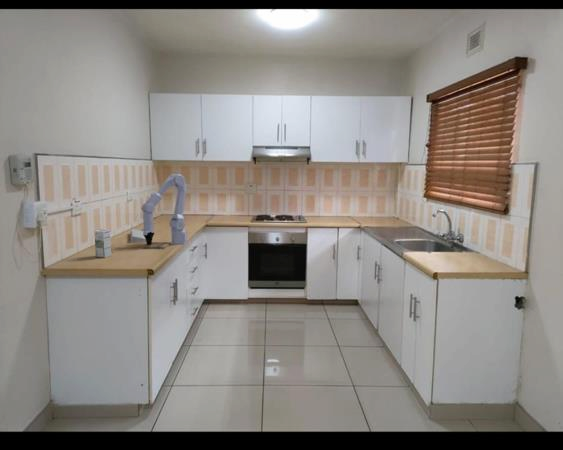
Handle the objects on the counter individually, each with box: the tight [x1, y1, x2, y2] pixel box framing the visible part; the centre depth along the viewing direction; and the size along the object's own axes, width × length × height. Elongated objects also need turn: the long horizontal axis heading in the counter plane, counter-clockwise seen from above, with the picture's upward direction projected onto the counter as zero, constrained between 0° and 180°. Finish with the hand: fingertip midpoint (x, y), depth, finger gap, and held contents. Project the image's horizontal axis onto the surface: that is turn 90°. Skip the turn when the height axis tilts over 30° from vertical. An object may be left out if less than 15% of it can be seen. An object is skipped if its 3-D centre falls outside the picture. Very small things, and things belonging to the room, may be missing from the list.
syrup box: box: [93, 229, 112, 259], centre depth 213 cm, size 6×6×14 cm
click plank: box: [141, 241, 160, 250], centre depth 241 cm, size 7×14×1 cm, turn 2°
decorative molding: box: [129, 228, 147, 244], centre depth 270 cm, size 34×5×10 cm
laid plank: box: [153, 241, 171, 250], centre depth 241 cm, size 6×14×1 cm, turn 2°
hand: (149, 244), depth 241 cm, fingers closed, pressing on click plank
